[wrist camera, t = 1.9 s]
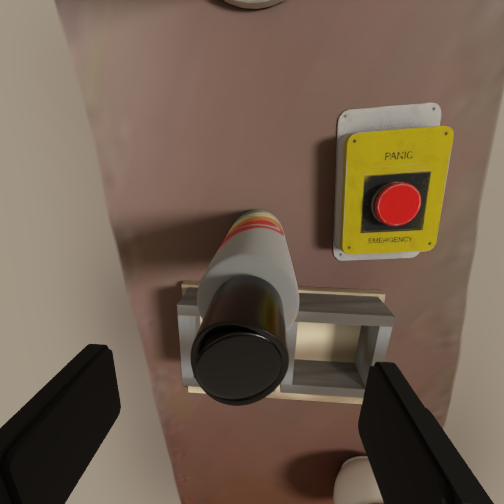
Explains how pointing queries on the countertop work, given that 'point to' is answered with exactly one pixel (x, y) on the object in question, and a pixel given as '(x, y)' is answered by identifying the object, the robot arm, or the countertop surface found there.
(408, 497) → the robot arm
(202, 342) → the lotion bottle
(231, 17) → the countertop surface
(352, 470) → the lidded jar
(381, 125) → the emergency button
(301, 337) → the socket board
